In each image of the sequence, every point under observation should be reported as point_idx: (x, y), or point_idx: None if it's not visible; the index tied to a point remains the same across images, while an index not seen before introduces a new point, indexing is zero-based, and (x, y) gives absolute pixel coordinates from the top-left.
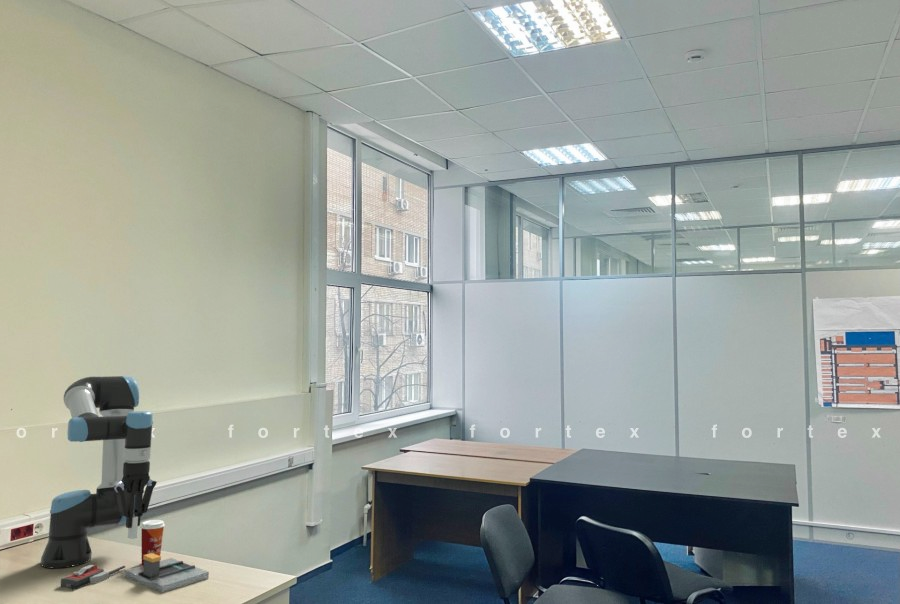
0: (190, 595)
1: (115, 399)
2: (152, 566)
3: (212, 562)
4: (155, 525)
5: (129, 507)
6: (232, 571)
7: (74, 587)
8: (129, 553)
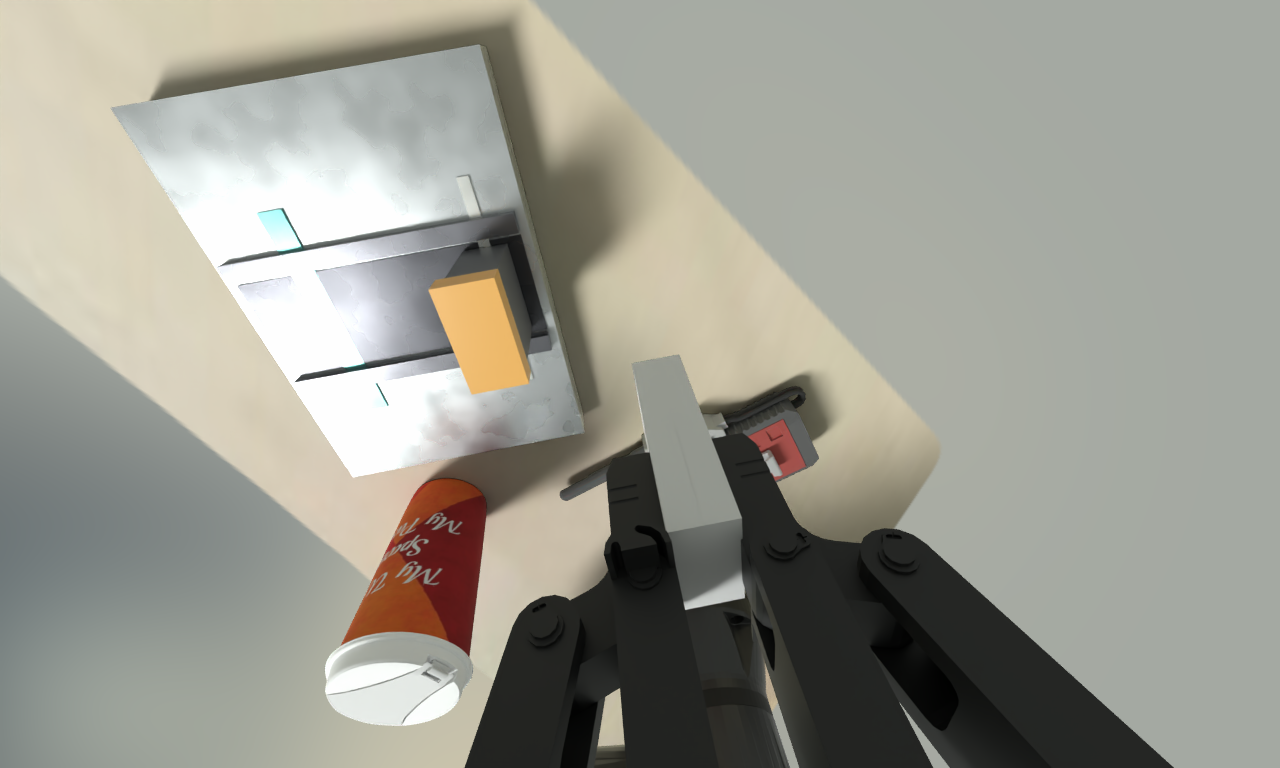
0: None
1: None
2: (497, 264)
3: (128, 370)
4: (387, 655)
5: (886, 700)
6: None
7: (794, 388)
8: (500, 619)
